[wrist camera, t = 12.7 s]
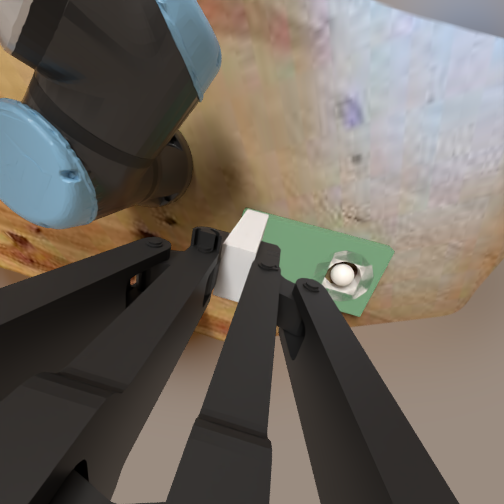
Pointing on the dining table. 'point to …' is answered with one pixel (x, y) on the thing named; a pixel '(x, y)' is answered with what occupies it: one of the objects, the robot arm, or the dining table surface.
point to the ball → (342, 274)
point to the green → (328, 259)
